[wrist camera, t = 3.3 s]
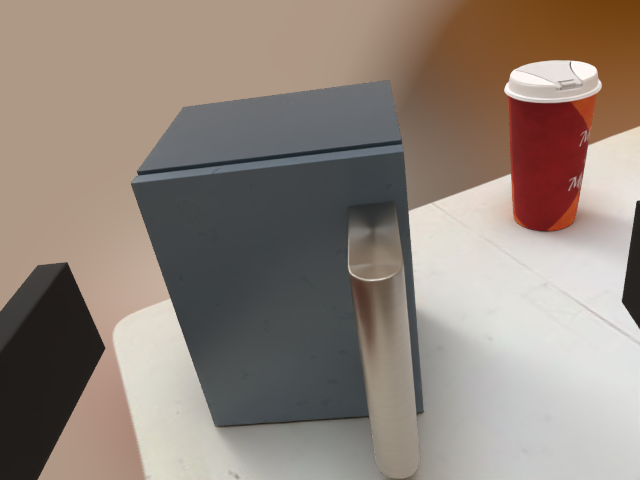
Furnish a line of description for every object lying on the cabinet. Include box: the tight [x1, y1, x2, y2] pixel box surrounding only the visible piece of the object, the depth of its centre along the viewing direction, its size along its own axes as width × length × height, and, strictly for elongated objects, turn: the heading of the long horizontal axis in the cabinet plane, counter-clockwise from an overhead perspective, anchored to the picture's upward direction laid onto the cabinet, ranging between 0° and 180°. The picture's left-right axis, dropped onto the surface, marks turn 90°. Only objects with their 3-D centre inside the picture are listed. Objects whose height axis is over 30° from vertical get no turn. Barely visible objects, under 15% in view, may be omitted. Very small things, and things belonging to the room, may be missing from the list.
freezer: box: [137, 80, 402, 176], centre depth 42 cm, size 11×15×20 cm
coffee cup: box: [504, 60, 602, 231], centre depth 56 cm, size 8×8×15 cm
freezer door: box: [131, 144, 424, 479], centre depth 34 cm, size 8×15×20 cm, turn 88°
